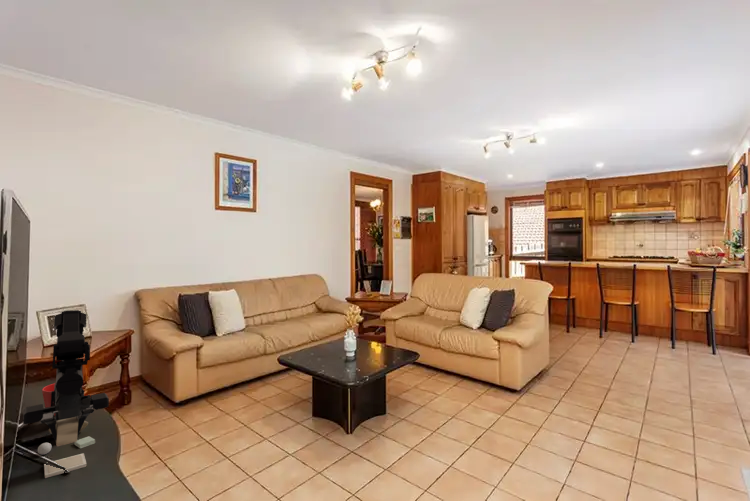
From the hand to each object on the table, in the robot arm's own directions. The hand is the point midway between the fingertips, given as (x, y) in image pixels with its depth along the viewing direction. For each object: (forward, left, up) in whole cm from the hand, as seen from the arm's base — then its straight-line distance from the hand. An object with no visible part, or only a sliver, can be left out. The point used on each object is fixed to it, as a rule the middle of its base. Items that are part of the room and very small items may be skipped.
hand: (66, 437), depth 108 cm
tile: (-11, +5, -9) cm, 15 cm away
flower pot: (-43, +1, -9) cm, 44 cm away
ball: (-11, -4, -7) cm, 14 cm away
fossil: (-19, +2, -9) cm, 21 cm away
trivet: (0, 0, -8) cm, 8 cm away
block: (0, 0, -1) cm, 1 cm away
